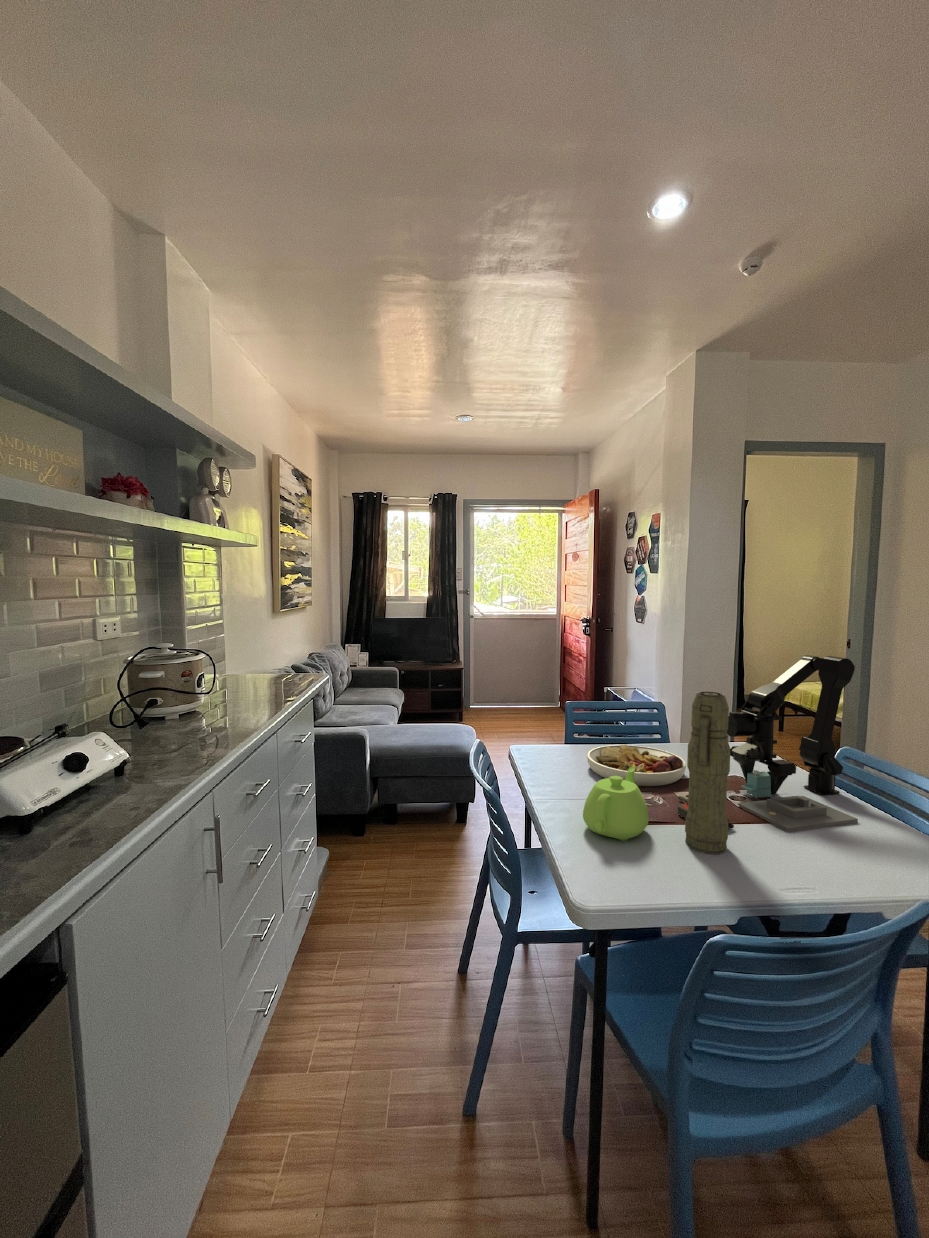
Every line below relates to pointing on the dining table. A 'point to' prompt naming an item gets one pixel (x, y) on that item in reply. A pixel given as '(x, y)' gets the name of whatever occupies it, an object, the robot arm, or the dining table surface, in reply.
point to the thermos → (708, 774)
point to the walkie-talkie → (684, 810)
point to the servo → (758, 784)
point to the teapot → (616, 808)
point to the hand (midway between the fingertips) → (760, 788)
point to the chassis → (797, 813)
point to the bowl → (637, 764)
